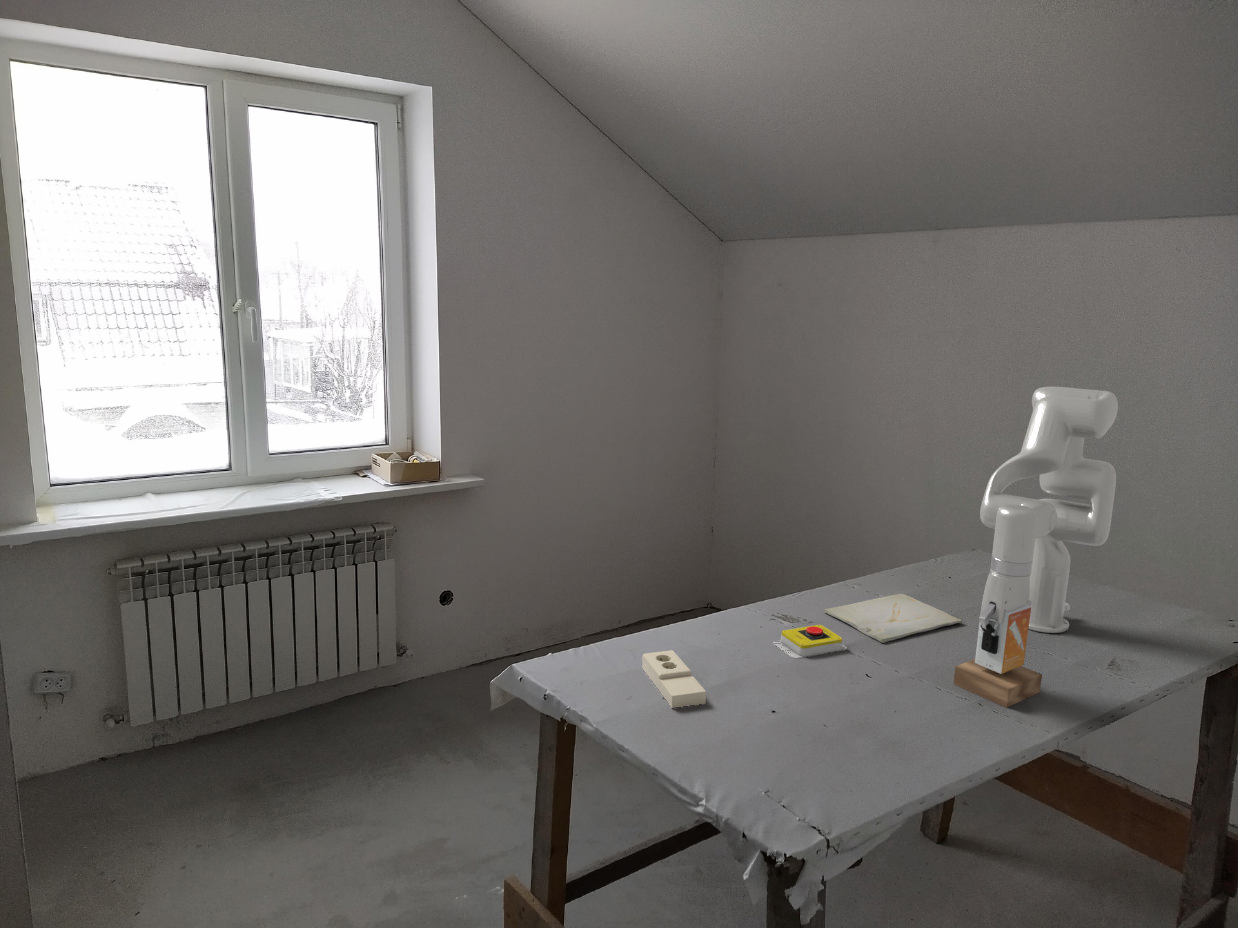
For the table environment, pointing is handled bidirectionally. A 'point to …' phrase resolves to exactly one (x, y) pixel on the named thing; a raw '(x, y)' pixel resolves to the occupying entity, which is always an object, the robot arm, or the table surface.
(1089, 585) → the table surface
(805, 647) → the emergency button
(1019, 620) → the small box
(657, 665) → the electrical outlet
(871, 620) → the decorative slab
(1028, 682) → the walnut base
